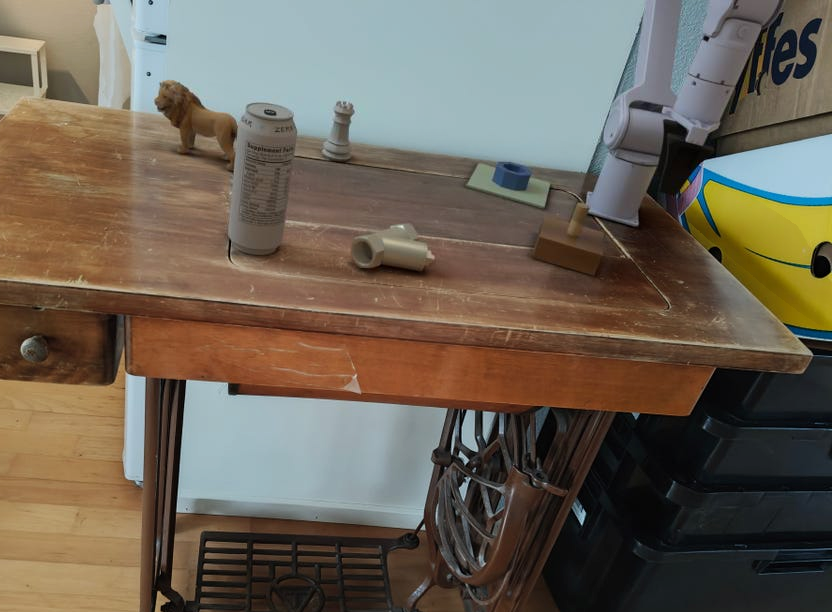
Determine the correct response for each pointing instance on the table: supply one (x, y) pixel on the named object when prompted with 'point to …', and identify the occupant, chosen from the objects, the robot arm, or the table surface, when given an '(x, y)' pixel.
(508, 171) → the ring
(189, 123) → the lion figurine
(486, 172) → the mat
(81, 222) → the table surface
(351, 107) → the rook chess piece
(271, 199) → the energy drink can
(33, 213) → the table surface
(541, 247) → the dowel stand
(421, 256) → the pipe fitting
